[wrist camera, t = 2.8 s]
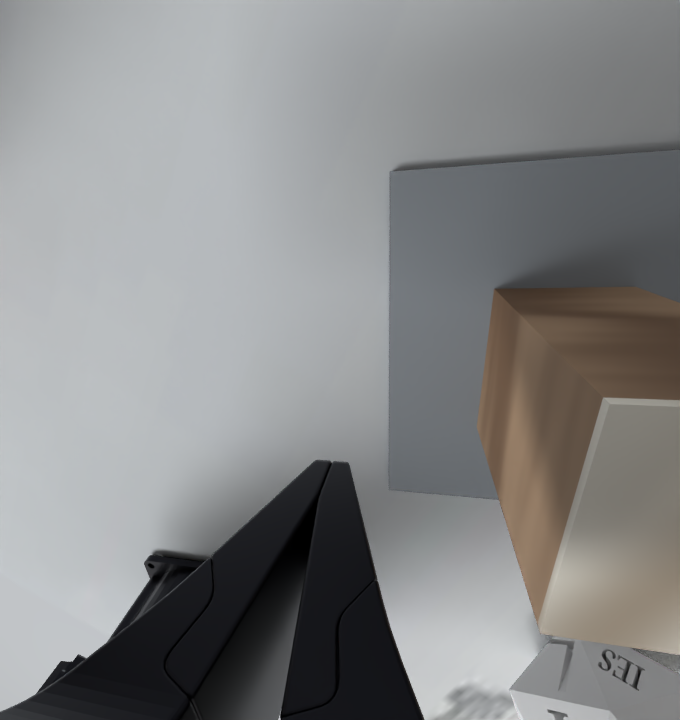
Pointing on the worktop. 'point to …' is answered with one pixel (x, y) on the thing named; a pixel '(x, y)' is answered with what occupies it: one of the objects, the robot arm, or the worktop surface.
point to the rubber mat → (504, 282)
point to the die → (595, 684)
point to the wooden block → (589, 457)
